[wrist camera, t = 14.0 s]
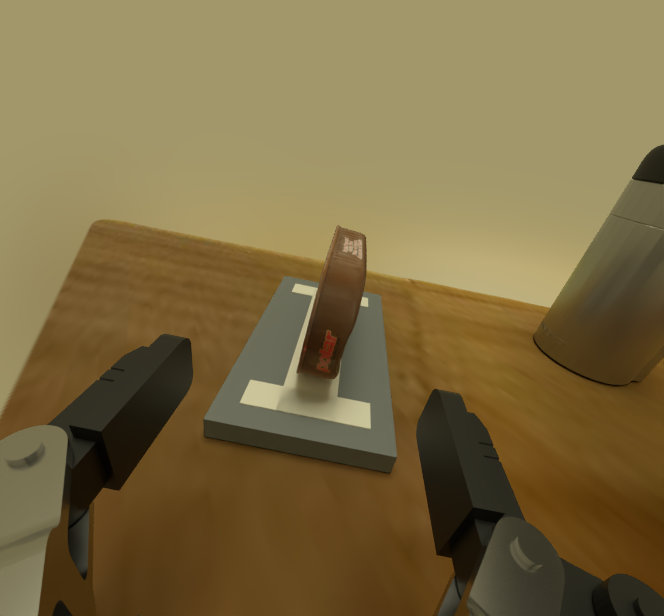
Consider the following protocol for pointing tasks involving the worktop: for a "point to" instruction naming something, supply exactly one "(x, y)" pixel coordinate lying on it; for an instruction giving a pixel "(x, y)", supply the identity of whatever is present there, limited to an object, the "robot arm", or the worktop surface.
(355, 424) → the letter board
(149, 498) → the worktop surface
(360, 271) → the tin
